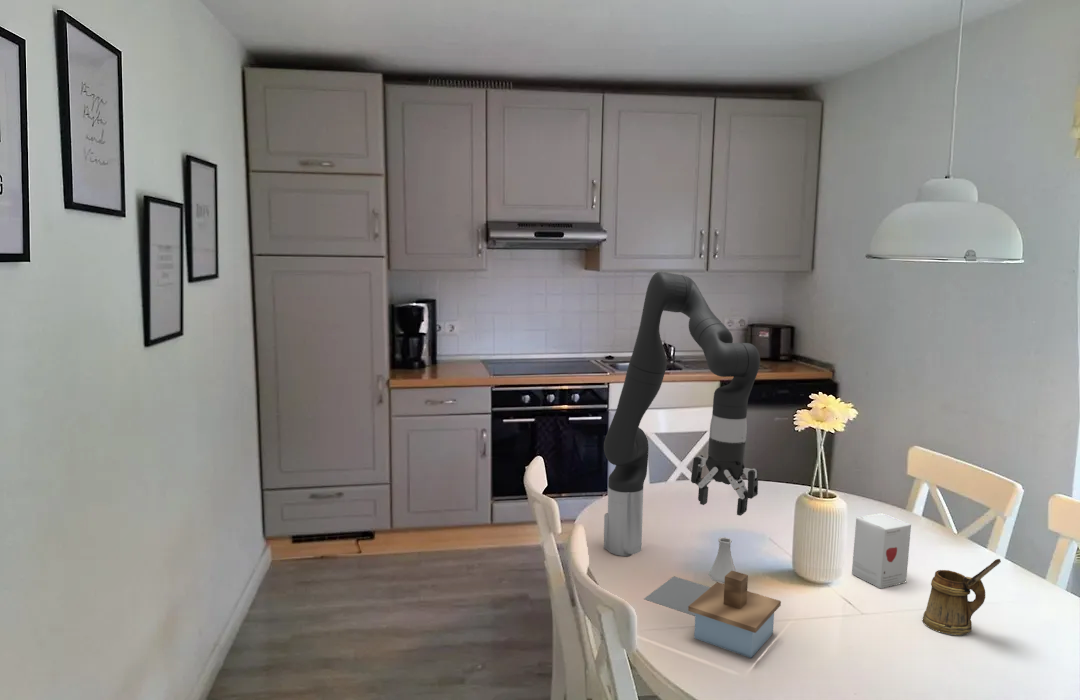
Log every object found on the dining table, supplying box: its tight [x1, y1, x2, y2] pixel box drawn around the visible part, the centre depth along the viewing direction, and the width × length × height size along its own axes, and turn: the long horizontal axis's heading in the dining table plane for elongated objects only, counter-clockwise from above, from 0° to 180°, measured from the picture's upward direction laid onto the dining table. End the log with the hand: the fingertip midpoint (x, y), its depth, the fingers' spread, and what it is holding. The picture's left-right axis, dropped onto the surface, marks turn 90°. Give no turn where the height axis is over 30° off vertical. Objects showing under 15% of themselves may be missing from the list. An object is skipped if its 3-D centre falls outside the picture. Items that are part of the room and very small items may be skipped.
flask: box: [708, 536, 737, 584], centre depth 176 cm, size 7×7×10 cm
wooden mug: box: [922, 558, 1001, 636], centre depth 152 cm, size 9×14×18 cm, turn 38°
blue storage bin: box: [693, 612, 775, 659], centre depth 148 cm, size 12×12×6 cm
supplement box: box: [851, 512, 912, 589], centre depth 176 cm, size 9×9×15 cm
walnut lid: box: [688, 571, 782, 633], centre depth 148 cm, size 14×14×7 cm
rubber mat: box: [643, 575, 711, 617], centre depth 166 cm, size 15×15×1 cm
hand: (721, 509), depth 156 cm, fingers open, 8 cm apart
